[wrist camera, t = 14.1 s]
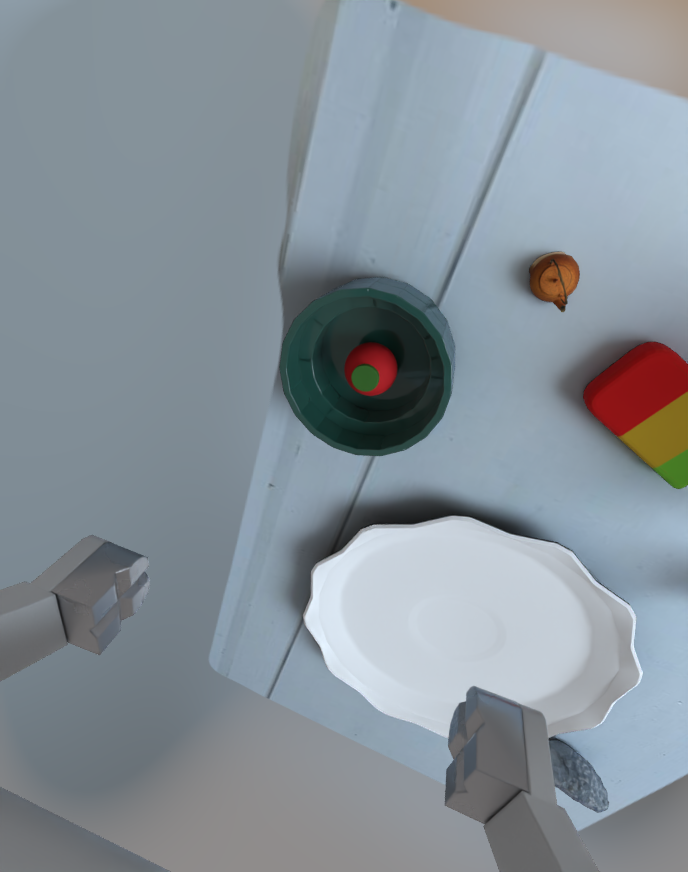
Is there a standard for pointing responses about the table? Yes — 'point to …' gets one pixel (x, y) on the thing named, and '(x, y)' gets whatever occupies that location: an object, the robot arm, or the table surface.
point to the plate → (471, 623)
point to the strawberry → (370, 369)
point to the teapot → (554, 278)
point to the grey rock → (577, 777)
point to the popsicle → (647, 407)
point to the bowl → (350, 327)
